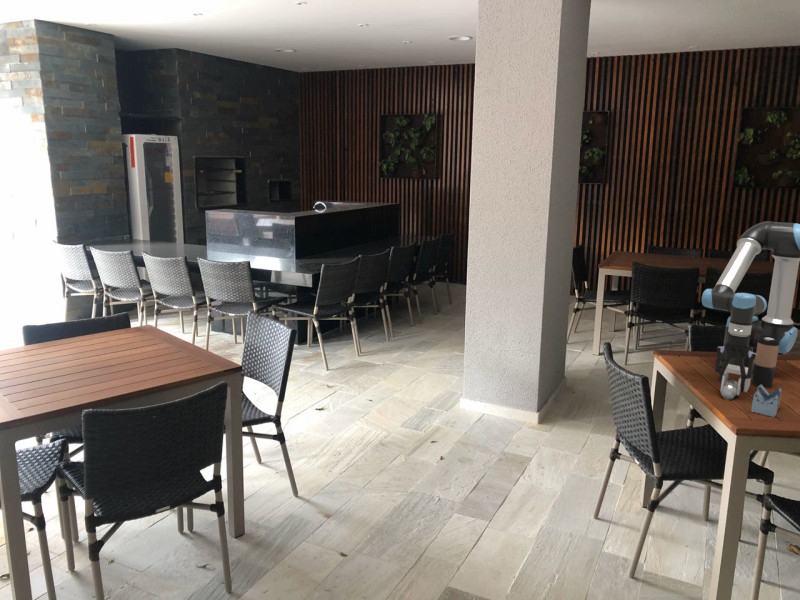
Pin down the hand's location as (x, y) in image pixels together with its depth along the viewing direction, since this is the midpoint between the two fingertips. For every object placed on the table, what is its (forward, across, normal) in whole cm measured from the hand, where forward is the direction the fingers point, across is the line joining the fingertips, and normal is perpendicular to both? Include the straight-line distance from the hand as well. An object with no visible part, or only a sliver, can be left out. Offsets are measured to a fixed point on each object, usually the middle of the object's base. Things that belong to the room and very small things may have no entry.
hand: (730, 392), depth 248 cm
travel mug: (+1, +8, +24) cm, 25 cm away
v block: (+1, +13, -8) cm, 15 cm away
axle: (+1, -1, 0) cm, 1 cm away
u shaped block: (+1, 0, +12) cm, 13 cm away
